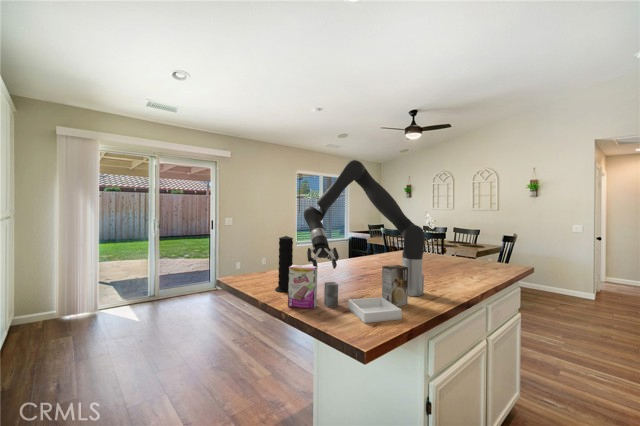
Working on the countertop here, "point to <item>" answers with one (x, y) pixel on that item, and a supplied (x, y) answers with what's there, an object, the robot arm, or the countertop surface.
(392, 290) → the coffee box
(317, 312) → the countertop surface
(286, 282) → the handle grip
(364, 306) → the tray
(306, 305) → the candy bar box
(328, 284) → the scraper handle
